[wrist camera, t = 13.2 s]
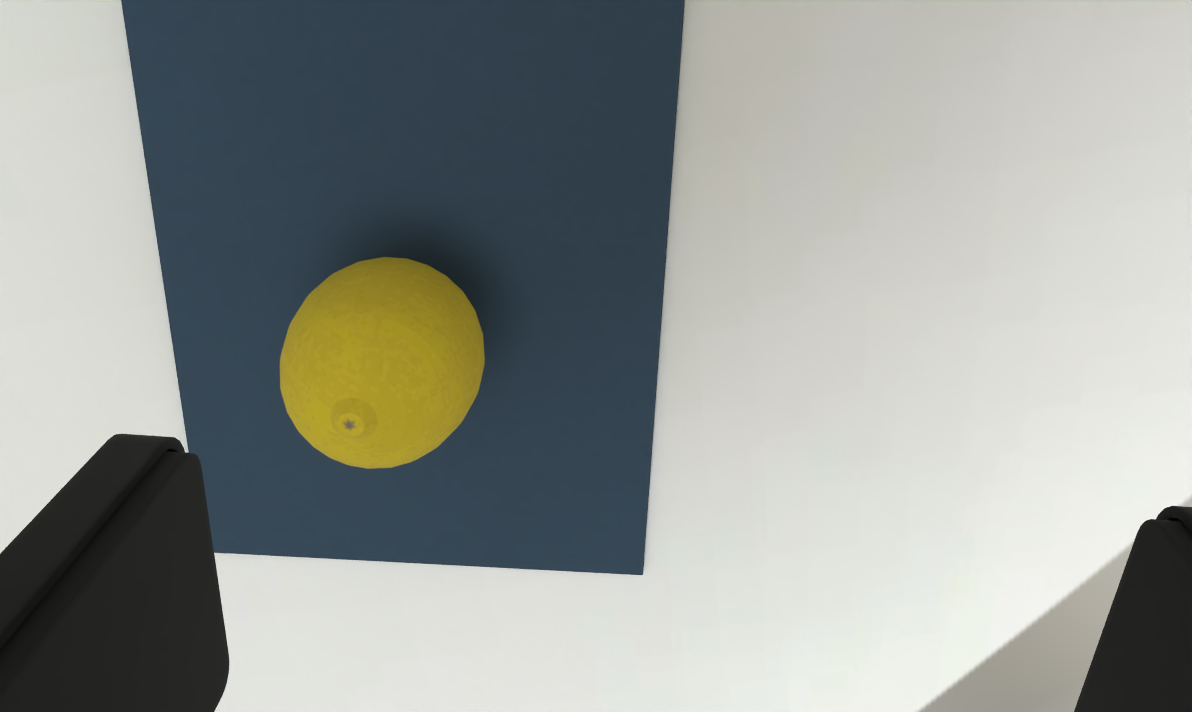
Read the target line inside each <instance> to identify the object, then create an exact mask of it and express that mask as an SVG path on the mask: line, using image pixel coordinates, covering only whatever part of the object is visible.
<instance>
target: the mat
mask: <svg viewBox="0 0 1192 712" xmlns="http://www.w3.org/2000/svg"><path fill="white" fill-rule="evenodd" d="M121 1H122V8H123V15H124V21H125V28H126V35H127V42H128V48H129V55H130V62H131V68H132V75H133V82H134V88H135V95H136V102H137V109H138V115H139V122H140V129H141V135H142V142H143V149H144V156H145V162H146V169H147V176H148V182H149V189H150V196H151V203H152V209H153V216H154V223H155V229H156V236H157V243H158V249H159V256H160V263H161V270H162V276H163V283H164V290H165V296H166V303H167V310H168V317H169V323H170V330H171V337H172V343H173V350H174V357H175V363H176V370H177V377H178V384H179V390H180V397H181V404H182V410H183V417H184V424H185V431H186V437H187V444H188V451H189V453H194V454H195V455H197V456H198V458H199V460H200V463H201V467H202V473H203V480H204V487H205V494H206V501H207V508H208V515H209V522H210V529H211V536H212V543H213V550H214V552H215V553H234V554H252V555H271V556H290V557H309V558H328V559H347V560H366V561H385V562H404V563H423V564H442V565H461V566H480V567H499V568H518V569H537V570H556V571H574V572H593V573H612V574H631V575H643V565H644V551H645V538H646V524H647V510H648V496H649V483H650V469H651V455H652V441H653V427H654V414H655V400H656V386H657V372H658V359H659V345H660V331H661V317H662V303H663V290H664V276H665V262H666V248H667V235H668V221H669V207H670V193H671V180H672V166H673V152H674V138H675V124H676V111H677V97H678V83H679V69H680V56H681V42H682V28H683V14H684V0H121ZM381 257H392V258H406V259H410V260H413V261H416V262H420V263H423V264H426V265H429V266H430V267H432V268H434V269H436V270H437V271H439V272H441V273H442V274H444V275H446V276H447V277H448V278H449V279H450V280H451V281H452V282H453V283H455V284H456V285H457V286H458V287H459V288H460V289H461V290H462V291H463V292H464V294H465V295H466V297H467V298H468V300H469V301H470V303H471V305H472V306H473V308H474V309H475V312H476V315H477V318H478V321H479V324H480V327H481V330H482V332H483V340H484V356H485V363H484V369H483V374H482V378H481V383H480V387H479V391H478V394H477V396H476V398H475V400H474V402H473V404H472V405H471V407H470V409H469V411H468V413H467V414H466V416H465V418H464V419H463V421H462V422H461V424H460V425H459V426H458V427H457V428H456V429H455V430H454V431H453V432H452V433H451V434H450V435H449V436H448V437H447V438H446V439H445V440H444V441H443V442H442V443H441V444H440V445H439V446H438V447H437V448H435V449H434V450H432V451H431V452H429V453H427V454H425V455H424V456H422V457H420V458H419V459H417V460H415V461H412V462H410V463H406V464H403V465H399V466H395V467H392V468H373V469H367V468H361V467H355V466H349V465H346V464H344V463H341V462H339V461H336V460H334V459H331V458H329V457H328V456H326V455H325V454H323V453H322V452H320V451H319V450H317V449H316V448H314V447H313V446H312V445H311V444H310V443H309V442H308V441H307V440H306V439H305V438H304V437H303V436H302V435H301V434H300V433H299V431H298V430H297V428H296V427H295V425H294V423H293V421H292V420H291V418H290V416H289V415H288V413H287V410H286V407H285V403H284V400H283V397H282V393H281V389H280V357H281V353H282V349H283V345H284V342H285V338H286V335H287V331H288V328H289V325H290V323H291V321H292V319H293V318H294V316H295V315H296V313H297V312H298V310H299V308H300V307H301V305H302V304H303V302H304V301H305V299H306V297H307V296H308V295H309V294H310V293H311V292H312V291H313V290H314V289H315V288H316V287H318V286H319V285H320V284H321V283H322V282H323V281H324V280H326V279H327V278H328V277H329V276H330V275H332V274H333V273H335V272H337V271H339V270H341V269H344V268H346V267H348V266H350V265H352V264H354V263H356V262H359V261H364V260H370V259H375V258H381Z"/></svg>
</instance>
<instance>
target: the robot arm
mask: <svg viewBox="0 0 1192 712" xmlns="http://www.w3.org/2000/svg"><path fill="white" fill-rule="evenodd" d="M228 673H229V654H228V647H227V640H226V633H225V626H224V619H223V612H222V605H221V598H220V591H219V584H218V577H217V570H216V563H215V557H214V550H213V543H212V536H211V529H210V522H209V515H208V508H207V501H206V494H205V487H204V480H203V473H202V467H201V463H200V460H199V458H198V456H197V455H195V454H194V453H185V451H184V447H183V446H182V444H181V442H180V441H179V440H178V439H176V438H174V437H161V436H146V435H131V434H116V435H114V436H113V437H111V438H110V439H109V440H108V441H107V442H106V443H105V444H104V445H103V446H102V447H101V448H100V449H99V450H98V451H97V452H96V453H95V454H94V455H93V456H92V457H91V459H90V460H89V461H88V462H87V463H86V464H85V465H84V466H83V467H82V468H81V469H80V470H79V471H78V472H77V473H76V474H75V475H74V476H73V478H72V479H71V480H70V481H69V482H68V483H67V484H66V485H65V486H64V487H63V488H62V489H61V490H60V491H59V492H58V493H57V494H56V496H55V497H54V498H53V499H52V500H51V501H50V502H49V503H48V504H47V505H46V506H45V507H44V508H43V509H42V510H41V511H40V512H39V513H38V515H37V516H36V517H35V518H34V519H33V520H32V521H31V522H30V523H29V524H28V525H27V526H26V527H25V528H24V529H23V530H22V531H21V532H20V534H19V535H18V536H17V537H16V538H15V539H14V540H13V541H12V542H11V543H10V544H9V545H8V546H7V547H6V548H5V549H4V550H3V552H2V553H1V554H0V712H214V711H215V709H216V707H217V705H218V703H219V701H220V699H221V697H222V695H223V692H224V690H225V686H226V683H227V678H228ZM1074 712H1192V507H1180V506H1170V507H1167V508H1165V509H1164V510H1163V511H1162V512H1161V513H1160V514H1159V515H1158V516H1157V518H1156V520H1155V519H1150V520H1147V521H1145V522H1144V523H1143V524H1142V525H1141V527H1140V529H1139V531H1138V533H1137V535H1136V538H1135V541H1134V544H1133V547H1132V549H1131V552H1130V555H1129V558H1128V561H1127V564H1126V566H1125V569H1124V572H1123V575H1122V578H1121V580H1120V583H1119V586H1118V589H1117V592H1116V595H1115V598H1114V600H1113V603H1112V606H1111V609H1110V612H1109V614H1108V617H1107V620H1106V623H1105V626H1104V629H1103V631H1102V634H1101V637H1100V640H1099V643H1098V646H1097V648H1096V651H1095V654H1094V657H1093V660H1092V662H1091V665H1090V668H1089V671H1088V674H1087V677H1086V680H1085V682H1084V685H1083V688H1082V691H1081V694H1080V696H1079V699H1078V702H1077V705H1076V708H1075V711H1074Z"/></svg>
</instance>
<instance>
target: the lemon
mask: <svg viewBox="0 0 1192 712" xmlns="http://www.w3.org/2000/svg"><path fill="white" fill-rule="evenodd" d="M484 363H485V356H484V340H483V332H482V330H481V327H480V324H479V321H478V318H477V315H476V312H475V309H474V308H473V306H472V305H471V303H470V301H469V300H468V298H467V297H466V295H465V294H464V292H463V291H462V290H461V289H460V288H459V287H458V286H457V285H456V284H455V283H453V282H452V281H451V280H450V279H449V278H448V277H447V276H446V275H444V274H442V273H441V272H439V271H437V270H436V269H434V268H432V267H430V266H429V265H426V264H423V263H420V262H416V261H413V260H410V259H406V258H392V257H381V258H375V259H370V260H364V261H359V262H356V263H354V264H352V265H350V266H348V267H346V268H344V269H341V270H339V271H337V272H335V273H333V274H332V275H330V276H329V277H328V278H327V279H326V280H324V281H323V282H322V283H321V284H320V285H319V286H318V287H316V288H315V289H314V290H313V291H312V292H311V293H310V294H309V295H308V296H307V297H306V299H305V301H304V302H303V304H302V305H301V307H300V308H299V310H298V312H297V313H296V315H295V316H294V318H293V319H292V321H291V323H290V325H289V328H288V331H287V335H286V338H285V342H284V345H283V349H282V353H281V357H280V389H281V393H282V397H283V400H284V403H285V407H286V410H287V413H288V415H289V416H290V418H291V420H292V421H293V423H294V425H295V427H296V428H297V430H298V431H299V433H300V434H301V435H302V436H303V437H304V438H305V439H306V440H307V441H308V442H309V443H310V444H311V445H312V446H313V447H314V448H316V449H317V450H319V451H320V452H322V453H323V454H325V455H326V456H328V457H329V458H331V459H334V460H336V461H339V462H341V463H344V464H346V465H349V466H355V467H361V468H367V469H373V468H392V467H395V466H399V465H403V464H406V463H410V462H412V461H415V460H417V459H419V458H420V457H422V456H424V455H425V454H427V453H429V452H431V451H432V450H434V449H435V448H437V447H438V446H439V445H440V444H441V443H442V442H443V441H444V440H445V439H446V438H447V437H448V436H449V435H450V434H451V433H452V432H453V431H454V430H455V429H456V428H457V427H458V426H459V425H460V424H461V422H462V421H463V419H464V418H465V416H466V414H467V413H468V411H469V409H470V407H471V405H472V404H473V402H474V400H475V398H476V396H477V394H478V391H479V387H480V383H481V378H482V374H483V369H484Z"/></svg>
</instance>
